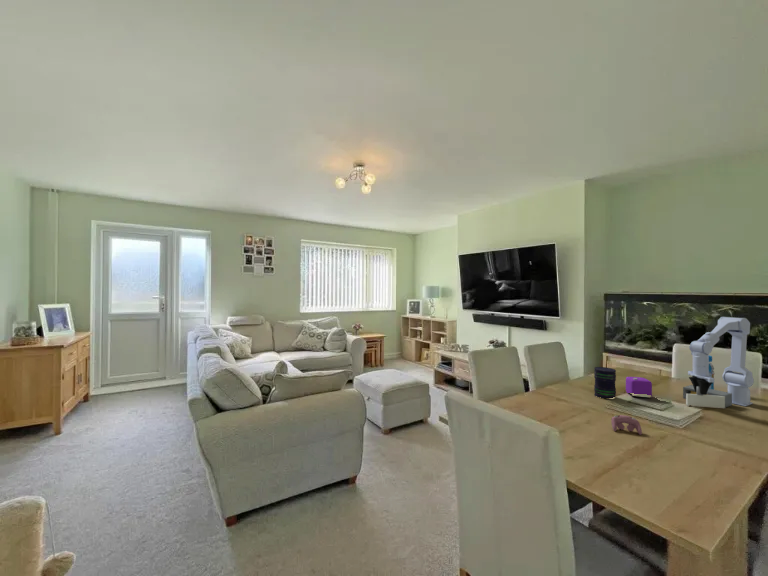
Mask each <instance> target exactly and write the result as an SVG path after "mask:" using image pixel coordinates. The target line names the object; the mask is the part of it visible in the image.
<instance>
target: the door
mask: <svg viewBox="0 0 768 576" xmlns="http://www.w3.org/2000/svg"><path fill="white" fill-rule="evenodd" d="M689 405H692V406H691V407H693V406H694V407H702V408H703V407H704V408H715V409H726V407H725V396H715V395H702V394H700V388H699V386H696V394H686V399H685V406H689Z"/></svg>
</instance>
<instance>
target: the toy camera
mask: <svg viewBox="0 0 768 576" xmlns="http://www.w3.org/2000/svg"><path fill="white" fill-rule="evenodd" d="M625 392H626V393H627V394H628V393H634V394H647V395H651V396H653V383H652V381H650V380H649V379H647V378H645V377H642V376H641V377H639V376H626V378H625Z"/></svg>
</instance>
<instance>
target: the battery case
mask: <svg viewBox="0 0 768 576" xmlns="http://www.w3.org/2000/svg"><path fill="white" fill-rule="evenodd" d="M686 394H696V392H695V390H694V387H693V384H689V385H686V386H683V387H682V398H683V399H684V400H686ZM706 395H715V396H725V408H728V407H731V406H733V403H732V393H728V391H722V390H718V389H715V388H714V389H708V392H707V394H706Z"/></svg>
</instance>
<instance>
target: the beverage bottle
mask: <svg viewBox="0 0 768 576" xmlns="http://www.w3.org/2000/svg"><path fill="white" fill-rule="evenodd" d="M712 363H713V356H712V355H709V376H710V377H712V378H714V377H715V371H714V370H715V367H714V365H713V364H712ZM714 379H715V378H714ZM714 384H715V382H714V383H712V384H711V386H710V387H709V389H714V390H715V386H714Z"/></svg>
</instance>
